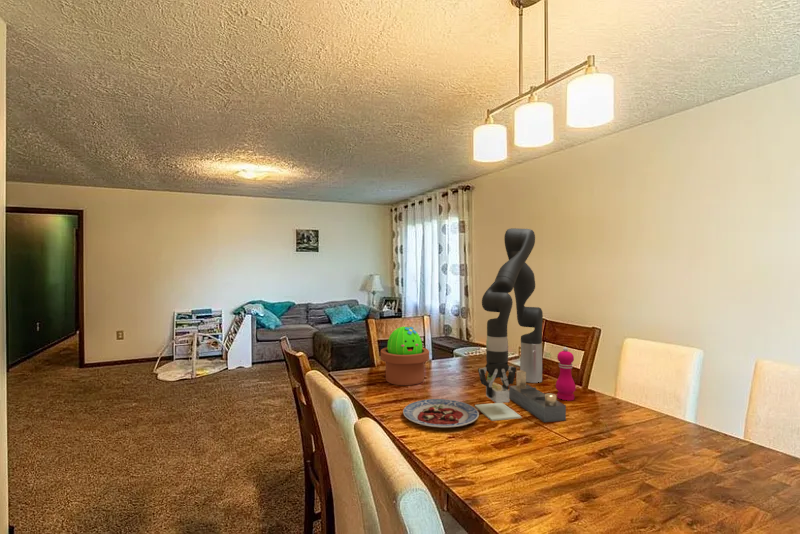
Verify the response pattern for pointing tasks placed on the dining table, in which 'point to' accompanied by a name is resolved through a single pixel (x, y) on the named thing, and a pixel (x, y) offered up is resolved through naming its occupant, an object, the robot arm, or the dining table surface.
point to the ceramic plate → (440, 413)
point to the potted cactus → (404, 357)
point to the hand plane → (536, 400)
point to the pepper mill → (565, 376)
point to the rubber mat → (497, 411)
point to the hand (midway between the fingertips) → (497, 396)
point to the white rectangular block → (499, 393)
